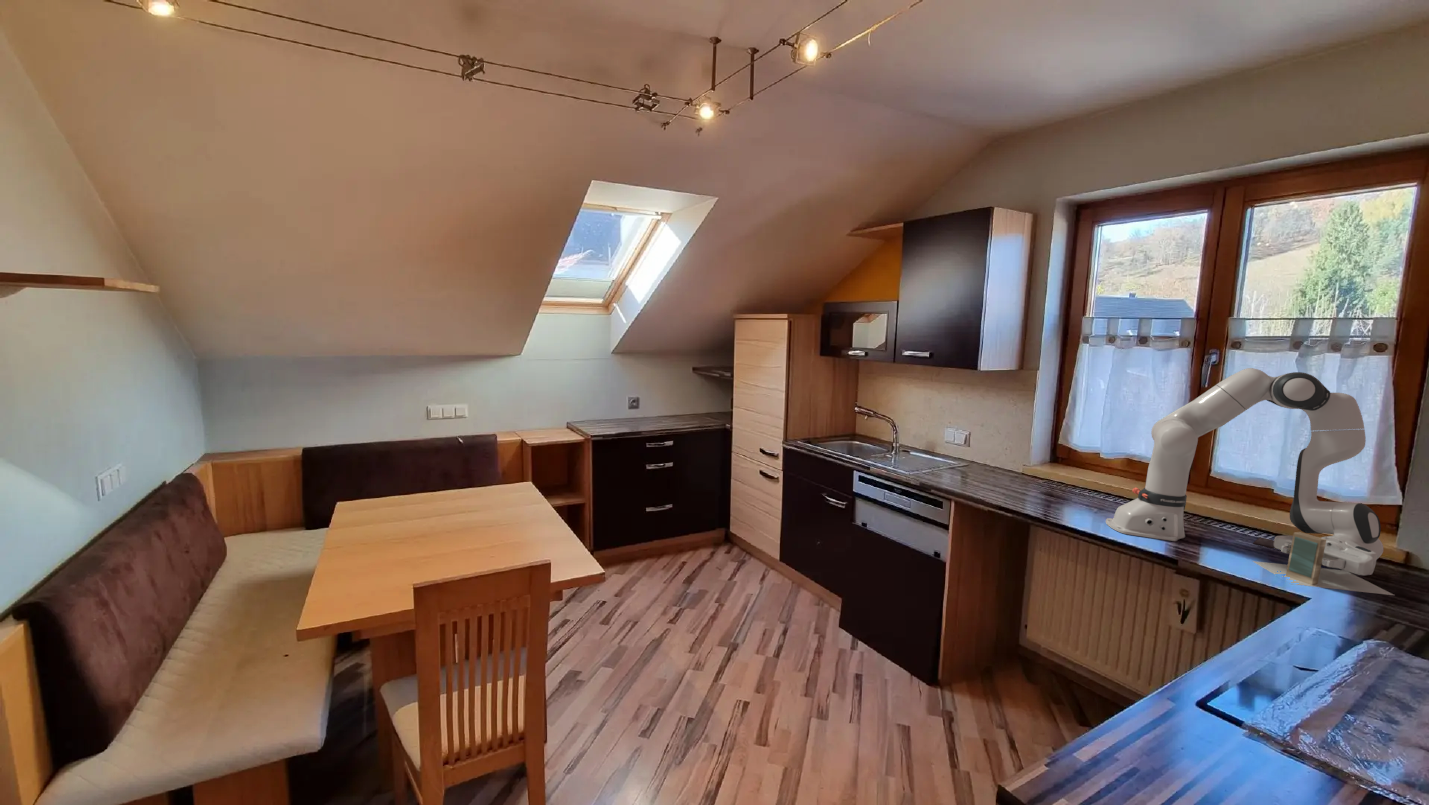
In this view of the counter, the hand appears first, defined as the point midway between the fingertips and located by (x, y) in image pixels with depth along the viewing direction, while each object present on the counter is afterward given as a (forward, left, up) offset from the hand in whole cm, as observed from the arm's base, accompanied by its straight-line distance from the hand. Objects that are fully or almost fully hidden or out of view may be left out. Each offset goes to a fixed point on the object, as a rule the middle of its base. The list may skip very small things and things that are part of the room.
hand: (1304, 556), depth 167 cm
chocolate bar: (+17, +28, -8) cm, 34 cm away
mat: (+8, +4, -8) cm, 12 cm away
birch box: (+1, 0, -7) cm, 7 cm away
